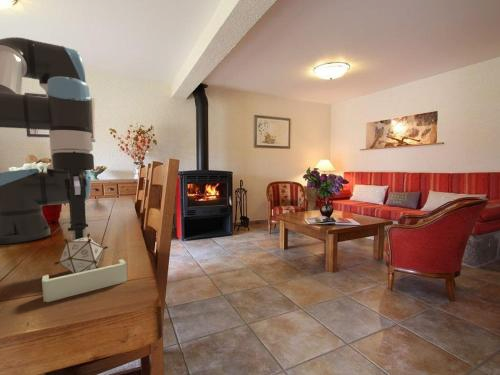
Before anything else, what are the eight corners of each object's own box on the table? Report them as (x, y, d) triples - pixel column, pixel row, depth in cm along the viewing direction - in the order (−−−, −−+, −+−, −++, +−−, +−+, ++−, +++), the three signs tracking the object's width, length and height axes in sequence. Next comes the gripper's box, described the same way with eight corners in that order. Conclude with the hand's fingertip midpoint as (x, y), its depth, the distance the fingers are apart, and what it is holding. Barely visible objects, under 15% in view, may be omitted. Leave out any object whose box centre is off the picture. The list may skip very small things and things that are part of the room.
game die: (84, 286, 57) (97, 242, 63) (108, 280, 53) (119, 234, 59) (39, 278, 51) (57, 231, 56) (62, 271, 47) (79, 221, 52)
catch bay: (44, 295, 45) (42, 275, 45) (123, 275, 53) (122, 259, 53) (43, 303, 43) (41, 282, 42) (127, 281, 50) (126, 263, 50)
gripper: (96, 150, 54) (103, 261, 56) (90, 154, 64) (95, 247, 66) (51, 149, 50) (60, 270, 51) (52, 153, 60) (59, 254, 61)
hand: (80, 257), depth 58 cm, fingers closed
